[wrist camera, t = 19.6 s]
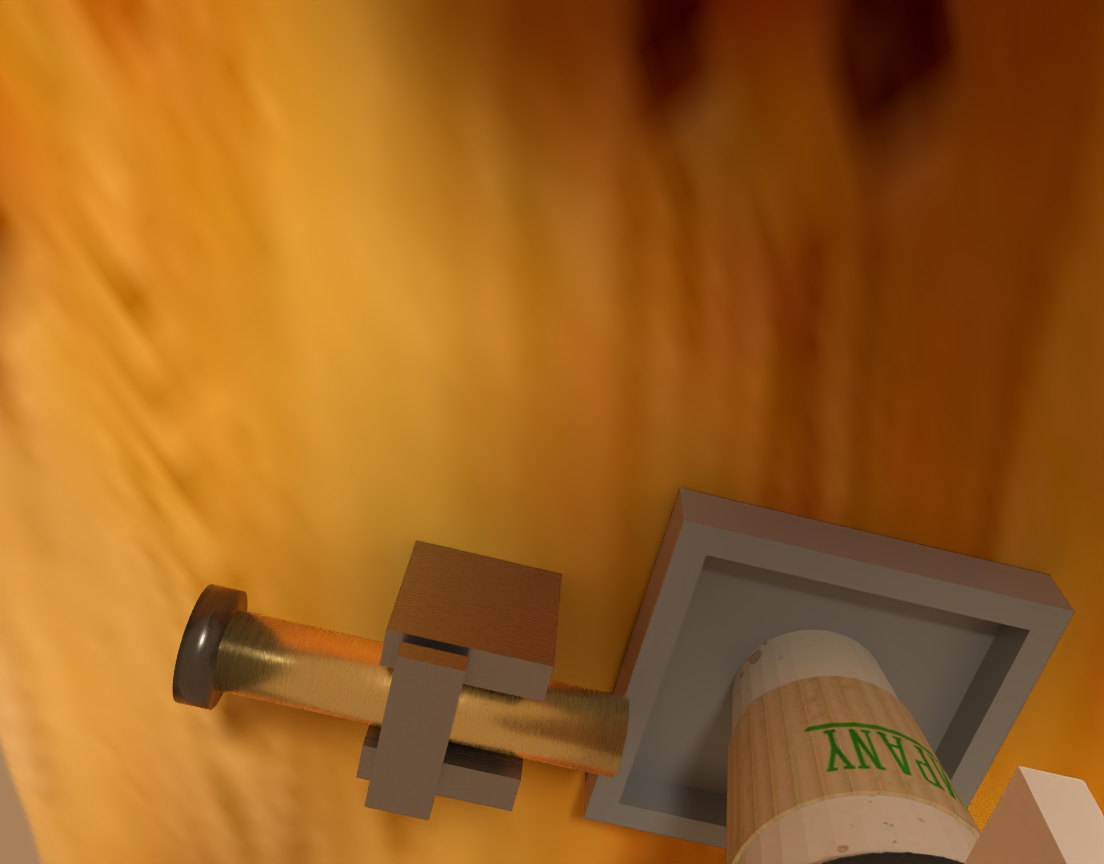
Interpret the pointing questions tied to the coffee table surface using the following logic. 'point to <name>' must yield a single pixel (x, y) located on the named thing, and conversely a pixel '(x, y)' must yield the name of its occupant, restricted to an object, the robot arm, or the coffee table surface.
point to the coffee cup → (833, 764)
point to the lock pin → (381, 686)
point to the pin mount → (456, 676)
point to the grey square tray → (812, 604)
